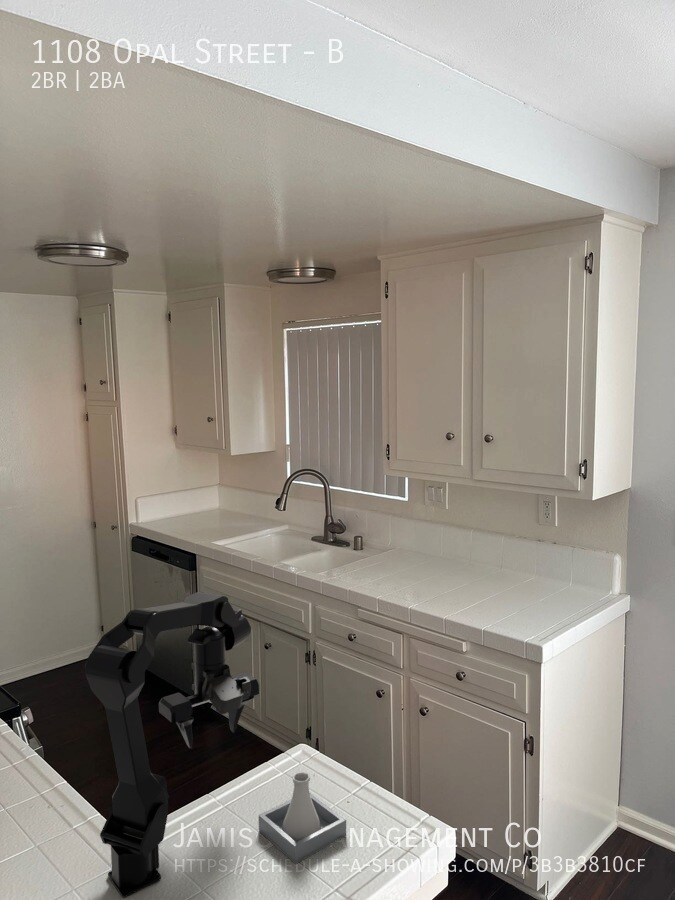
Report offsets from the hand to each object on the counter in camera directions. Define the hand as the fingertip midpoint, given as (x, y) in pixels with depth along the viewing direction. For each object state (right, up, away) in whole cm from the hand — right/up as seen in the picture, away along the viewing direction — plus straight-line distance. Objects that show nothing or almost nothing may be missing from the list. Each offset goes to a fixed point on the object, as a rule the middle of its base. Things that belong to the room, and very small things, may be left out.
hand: (211, 739), depth 130 cm
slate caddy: (+18, -13, -8) cm, 24 cm away
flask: (+17, -13, -8) cm, 23 cm away
